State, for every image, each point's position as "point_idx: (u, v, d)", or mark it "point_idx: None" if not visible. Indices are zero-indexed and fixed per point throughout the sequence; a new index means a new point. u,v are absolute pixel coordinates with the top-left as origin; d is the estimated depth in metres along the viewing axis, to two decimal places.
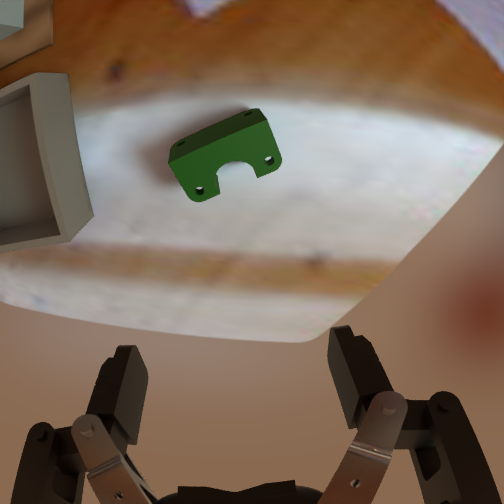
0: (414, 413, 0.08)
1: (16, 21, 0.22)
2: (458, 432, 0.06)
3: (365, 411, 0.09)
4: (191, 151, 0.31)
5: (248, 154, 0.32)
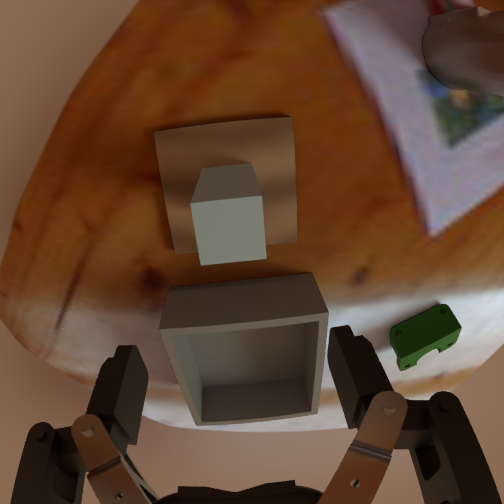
0: (414, 413, 0.08)
1: None
2: (458, 432, 0.06)
3: (365, 411, 0.09)
4: (416, 350, 0.41)
5: (442, 344, 0.42)
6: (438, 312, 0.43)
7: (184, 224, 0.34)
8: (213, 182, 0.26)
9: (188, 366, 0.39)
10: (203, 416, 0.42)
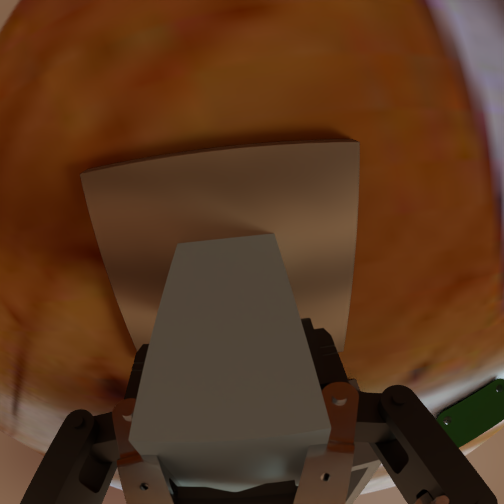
0: (368, 405, 0.09)
1: None
2: (419, 423, 0.07)
3: None
4: (467, 441, 0.25)
5: None
6: (494, 390, 0.28)
7: None
8: (193, 317, 0.11)
9: None
10: None
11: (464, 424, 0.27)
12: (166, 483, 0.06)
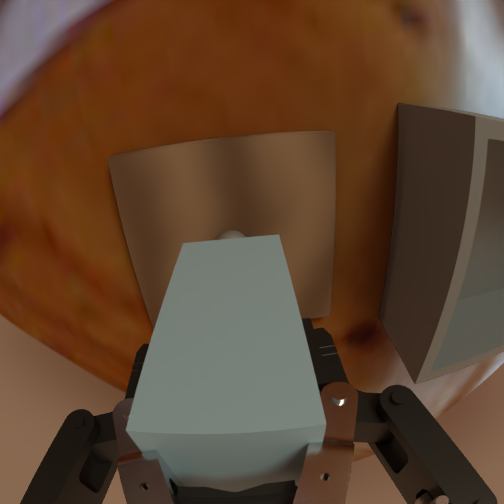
0: (367, 406, 0.09)
1: None
2: (418, 423, 0.07)
3: None
4: None
5: None
6: None
7: None
8: (196, 314, 0.11)
9: (487, 322, 0.22)
10: None
11: None
12: (166, 483, 0.06)
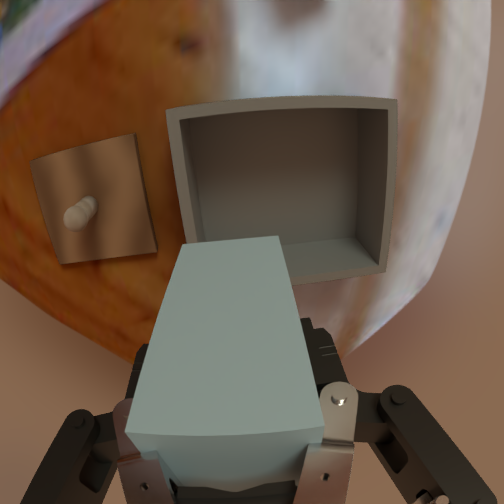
0: (367, 406, 0.09)
1: None
2: (418, 423, 0.07)
3: None
4: None
5: None
6: None
7: (125, 242, 0.35)
8: (195, 315, 0.11)
9: (286, 261, 0.34)
10: (375, 258, 0.32)
11: None
12: (166, 483, 0.06)
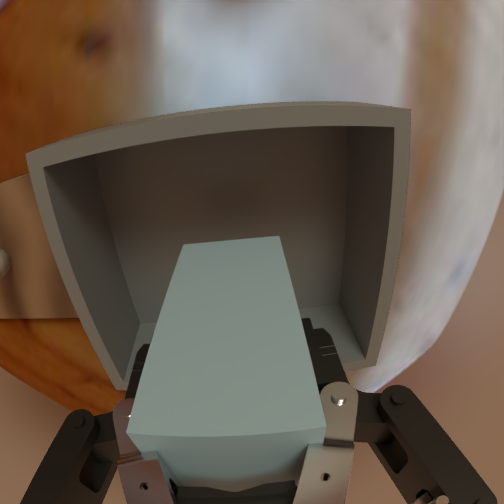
0: (367, 405, 0.09)
1: None
2: (418, 423, 0.07)
3: None
4: None
5: None
6: None
7: (46, 304, 0.25)
8: (196, 316, 0.11)
9: None
10: (362, 346, 0.22)
11: None
12: (166, 483, 0.06)
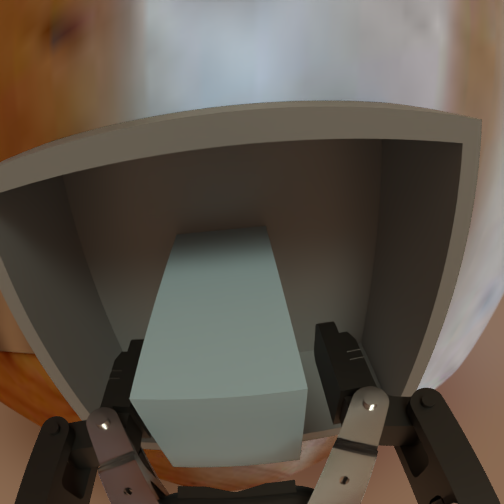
0: (396, 409, 0.08)
1: None
2: (444, 428, 0.07)
3: (347, 406, 0.09)
4: None
5: None
6: None
7: (24, 338, 0.21)
8: (190, 297, 0.12)
9: None
10: None
11: None
12: (149, 485, 0.06)
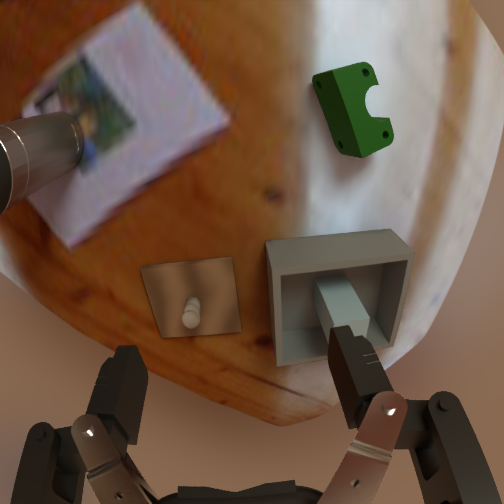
0: (414, 413, 0.08)
1: None
2: (458, 432, 0.07)
3: (365, 411, 0.09)
4: (355, 137, 0.34)
5: (360, 89, 0.32)
6: (320, 90, 0.35)
7: (219, 326, 0.52)
8: (334, 299, 0.43)
9: None
10: (387, 337, 0.48)
11: (343, 132, 0.36)
12: (138, 488, 0.06)
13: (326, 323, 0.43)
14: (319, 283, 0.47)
